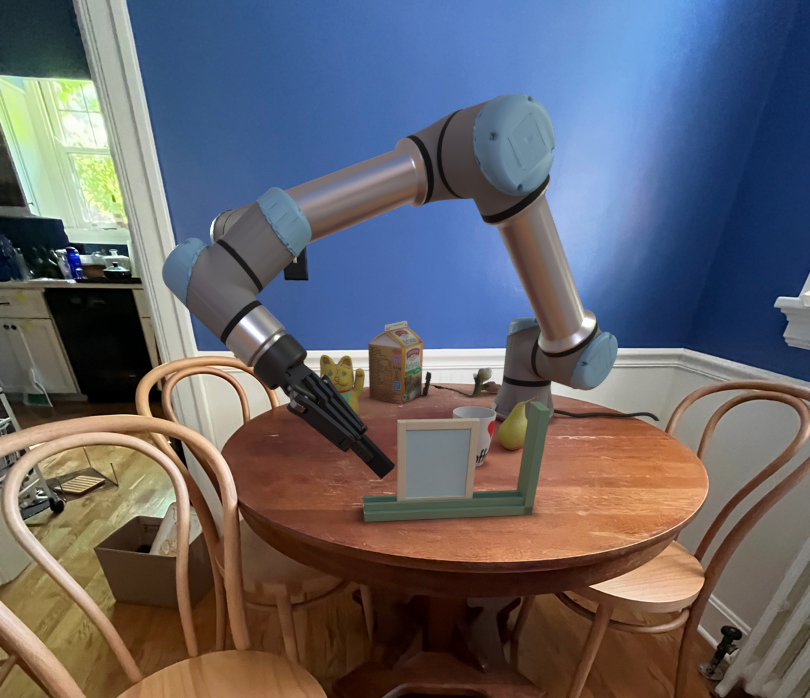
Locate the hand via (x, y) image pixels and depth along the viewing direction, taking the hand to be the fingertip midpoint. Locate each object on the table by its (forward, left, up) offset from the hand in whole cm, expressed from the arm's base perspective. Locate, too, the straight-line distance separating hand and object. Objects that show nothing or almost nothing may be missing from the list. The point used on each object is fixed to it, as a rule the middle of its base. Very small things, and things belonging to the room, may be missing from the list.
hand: (388, 472), depth 73 cm
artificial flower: (-27, -68, -7) cm, 74 cm away
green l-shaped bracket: (-10, 0, -7) cm, 12 cm away
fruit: (-29, -26, -7) cm, 40 cm away
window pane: (-7, 0, -5) cm, 9 cm away
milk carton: (-8, -68, -7) cm, 69 cm away
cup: (-18, -20, -7) cm, 28 cm away
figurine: (+7, -48, -7) cm, 49 cm away
